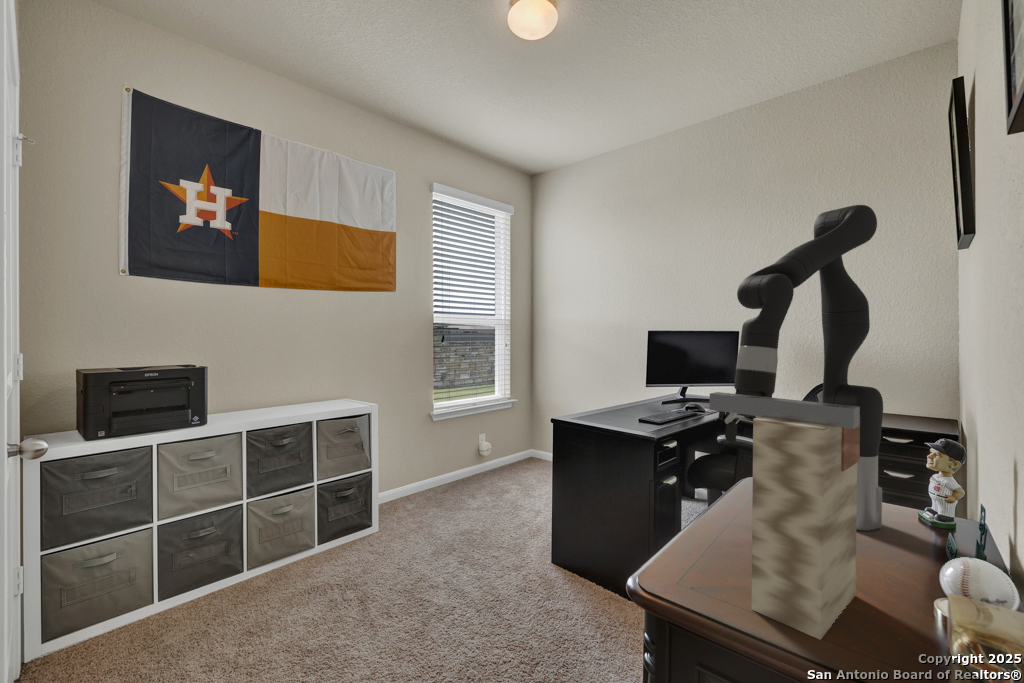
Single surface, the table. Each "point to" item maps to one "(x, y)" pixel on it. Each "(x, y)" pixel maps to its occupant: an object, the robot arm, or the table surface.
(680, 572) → the table surface
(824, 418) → the metal block
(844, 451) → the zigzag patterned pillar
